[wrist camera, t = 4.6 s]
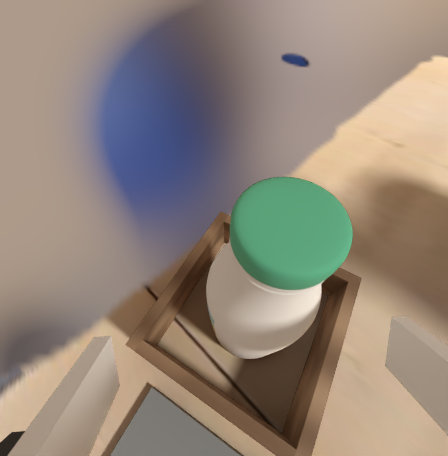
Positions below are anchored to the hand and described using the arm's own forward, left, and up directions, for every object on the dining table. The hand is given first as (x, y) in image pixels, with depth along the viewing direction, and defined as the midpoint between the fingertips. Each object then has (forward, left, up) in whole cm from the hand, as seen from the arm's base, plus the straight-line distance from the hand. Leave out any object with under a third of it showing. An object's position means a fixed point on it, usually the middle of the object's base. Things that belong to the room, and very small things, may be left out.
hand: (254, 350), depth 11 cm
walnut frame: (-4, -1, -15) cm, 15 cm away
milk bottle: (-4, -1, -15) cm, 16 cm away
